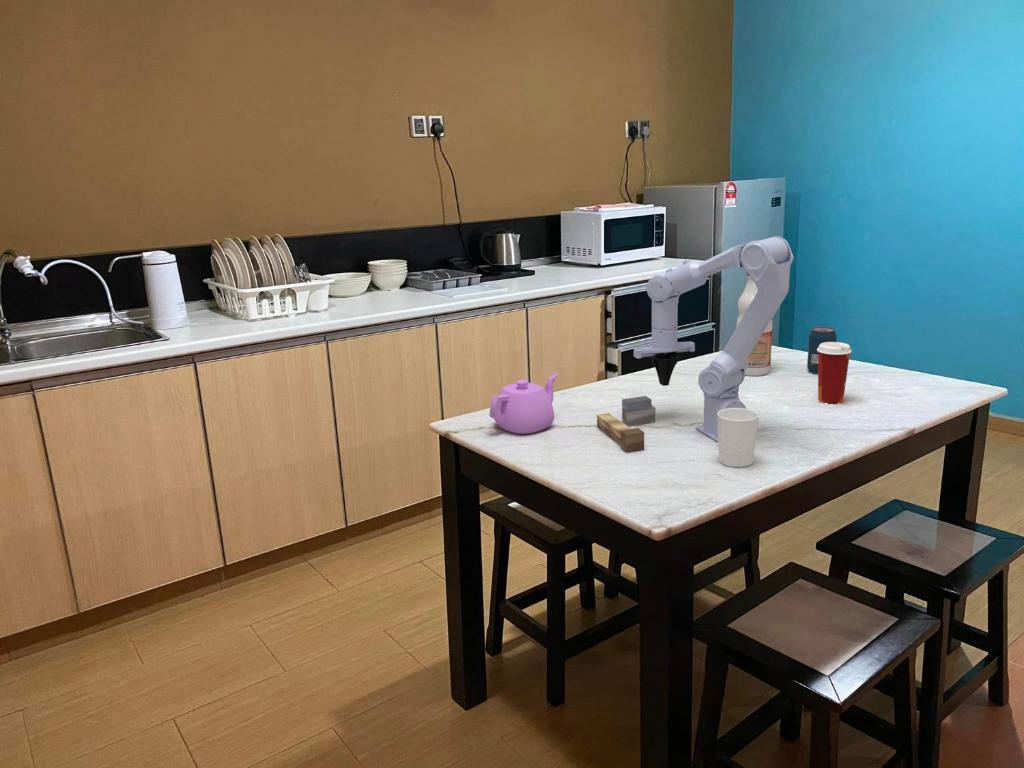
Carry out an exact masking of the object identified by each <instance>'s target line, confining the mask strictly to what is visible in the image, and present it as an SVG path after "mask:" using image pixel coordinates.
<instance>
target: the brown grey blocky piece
mask: <svg viewBox="0 0 1024 768" xmlns="http://www.w3.org/2000/svg"><path fill="white" fill-rule="evenodd" d="M621 408H622V407H621ZM621 422H622V423H624V424H625V425H627V426H628V427H634V426H635V427H634V428H631V429H627V430H621V439H620V438H619V437H618V436H616V435H615V434H614V433H612V432H611V431H610V430H608V429H607V428H606V427H604V426H603V425H602V424H600V423H599V422H598V421H597V420H596V429H597V428H598V429H599V430H600V431H602V432H603V433H604V435H607V437H608V438H610V439H611V440H612V441H614V442H615V443H616V444H617V445H619V446H620V449H622V450H623V451H624V452H625V453H627V454H629V453H634V452H641V451H645V431H643V430H642V429H640V428H639V427H636V426H641V425H647V424H648V425H649V424H653V423H654V424H655V423H656V406H654V405H653V404H652V405H651V408H646V409H640V410H633V411H626V410H625V409H623V408H622V409H621Z"/></svg>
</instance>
